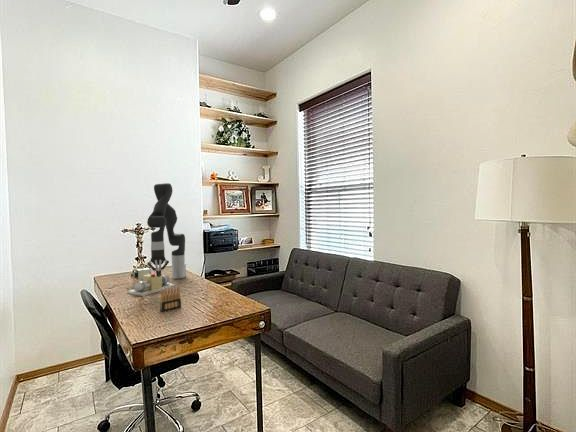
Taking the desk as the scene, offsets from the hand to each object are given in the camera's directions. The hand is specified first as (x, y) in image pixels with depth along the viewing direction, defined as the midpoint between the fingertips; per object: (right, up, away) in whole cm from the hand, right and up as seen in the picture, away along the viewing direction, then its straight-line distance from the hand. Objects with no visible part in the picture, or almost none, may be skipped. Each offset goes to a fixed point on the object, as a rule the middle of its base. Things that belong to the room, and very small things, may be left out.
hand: (158, 276), depth 197 cm
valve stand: (-8, -10, +10) cm, 17 cm away
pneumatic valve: (-20, -10, +23) cm, 32 cm away
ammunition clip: (+18, -12, -30) cm, 37 cm away
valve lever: (-5, 0, +4) cm, 7 cm away
